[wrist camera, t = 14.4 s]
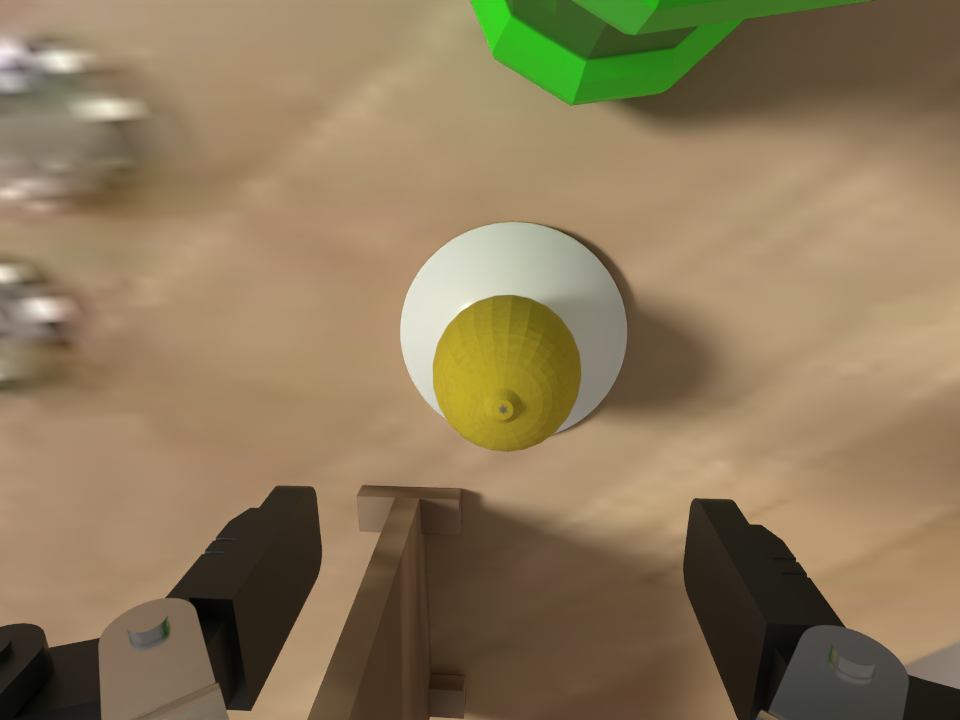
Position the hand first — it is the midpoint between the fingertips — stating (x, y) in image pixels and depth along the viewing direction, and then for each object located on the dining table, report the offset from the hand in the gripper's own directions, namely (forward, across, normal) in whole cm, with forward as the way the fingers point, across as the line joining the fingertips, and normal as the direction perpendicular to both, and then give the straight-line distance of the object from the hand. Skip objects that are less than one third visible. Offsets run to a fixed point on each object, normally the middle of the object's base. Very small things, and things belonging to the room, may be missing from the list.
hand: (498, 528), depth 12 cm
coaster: (+15, 0, 0) cm, 15 cm away
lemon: (+14, 0, 0) cm, 14 cm away
